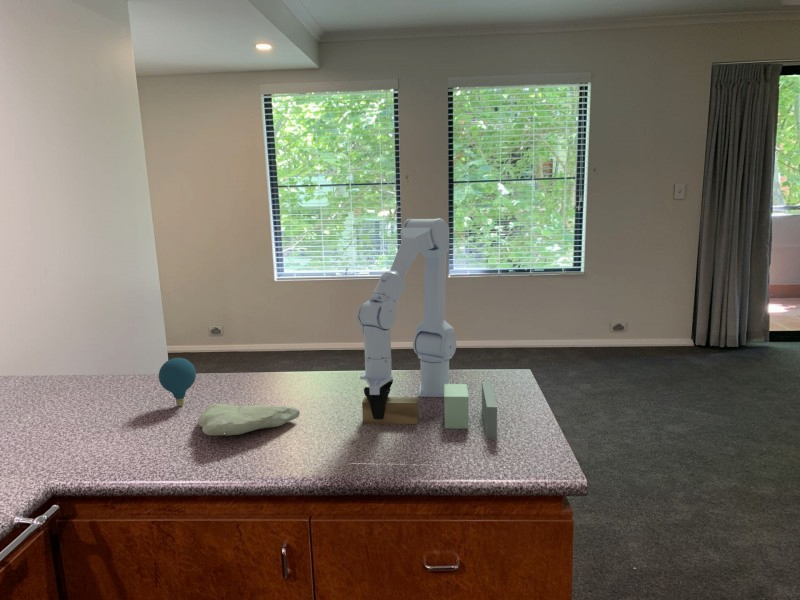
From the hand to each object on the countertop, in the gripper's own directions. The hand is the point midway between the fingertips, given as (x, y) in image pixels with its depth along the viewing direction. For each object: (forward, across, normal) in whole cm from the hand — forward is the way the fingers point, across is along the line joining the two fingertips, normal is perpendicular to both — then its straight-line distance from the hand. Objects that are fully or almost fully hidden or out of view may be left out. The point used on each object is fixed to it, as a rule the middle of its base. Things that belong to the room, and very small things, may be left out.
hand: (379, 415), depth 119 cm
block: (+1, 0, +17) cm, 17 cm away
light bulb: (+2, -8, -50) cm, 51 cm away
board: (+1, +1, +24) cm, 24 cm away
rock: (+2, +6, -30) cm, 31 cm away
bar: (+1, 0, +2) cm, 3 cm away
